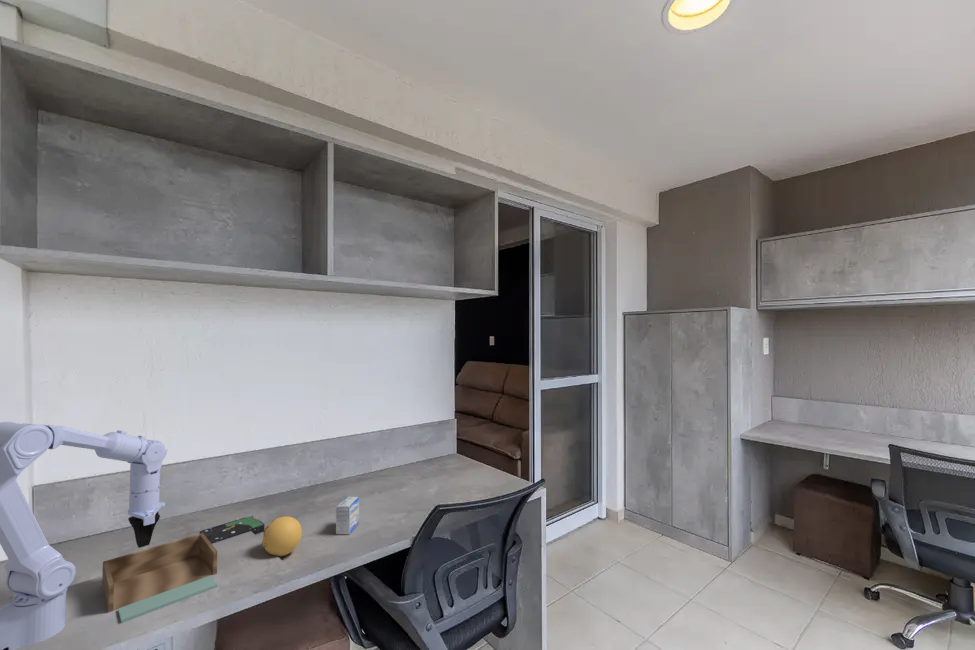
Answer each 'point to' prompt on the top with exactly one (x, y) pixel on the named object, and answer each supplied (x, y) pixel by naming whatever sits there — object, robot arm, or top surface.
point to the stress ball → (282, 536)
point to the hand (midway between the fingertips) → (143, 545)
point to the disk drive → (233, 529)
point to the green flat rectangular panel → (165, 598)
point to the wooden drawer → (157, 570)
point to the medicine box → (347, 515)
